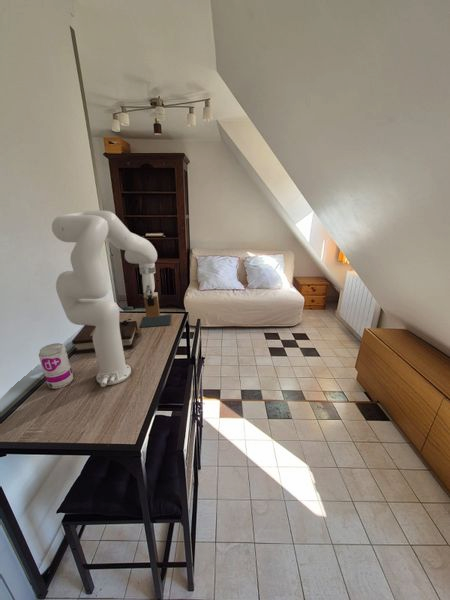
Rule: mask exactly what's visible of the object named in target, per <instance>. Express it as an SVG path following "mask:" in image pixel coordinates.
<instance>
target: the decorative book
mask: <svg viewBox="0 0 450 600" xmlns="http://www.w3.org/2000/svg"><path fill="white" fill-rule="evenodd" d="M137 322H138V321H137V320H132V318H128V319H127V320H123V321H119V327H120V334H121V340H122V345H123V350H130V349H131V350H133V349H134V346H135V343H136V340H137V337H138V334H139V333H141V331H142V329H138V328H139V327H138V323H137ZM95 331H96V326H91V325H83V326H82V327H81V329H80V331H78V332H77V334H76V335H75V336H74V337H73V339H72V340H71V343H72V345H74V346H73V348H75V349H74V350H73V351H74V354H75V355H80V354H90V353H92V354H93V353H95V348H94V344H93V334H94V332H95Z"/></svg>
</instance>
